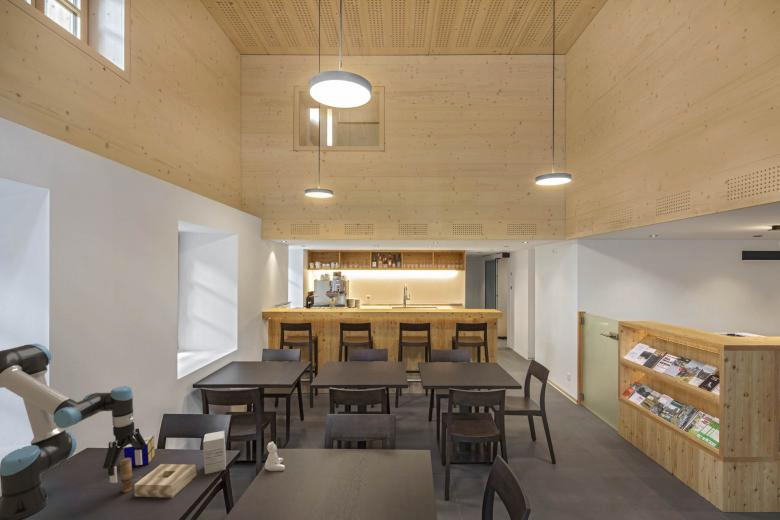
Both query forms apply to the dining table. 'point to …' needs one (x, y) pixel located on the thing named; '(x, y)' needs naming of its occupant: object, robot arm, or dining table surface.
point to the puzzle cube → (146, 452)
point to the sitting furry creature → (273, 459)
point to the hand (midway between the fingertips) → (126, 473)
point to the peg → (126, 475)
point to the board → (165, 480)
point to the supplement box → (214, 452)
